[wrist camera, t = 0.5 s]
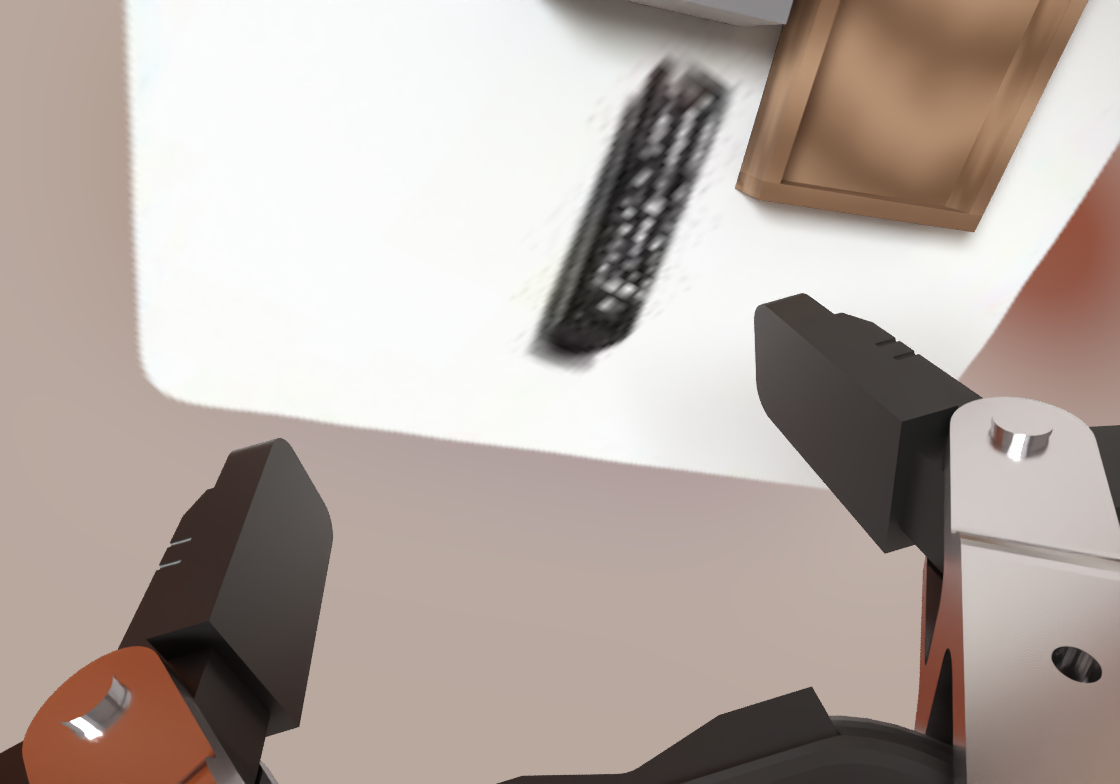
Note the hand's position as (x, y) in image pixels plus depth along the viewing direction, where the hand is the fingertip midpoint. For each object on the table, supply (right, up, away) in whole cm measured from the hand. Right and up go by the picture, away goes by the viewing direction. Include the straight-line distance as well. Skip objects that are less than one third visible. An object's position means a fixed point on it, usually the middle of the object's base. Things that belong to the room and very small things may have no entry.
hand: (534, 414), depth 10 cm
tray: (+20, +21, +23) cm, 37 cm away
